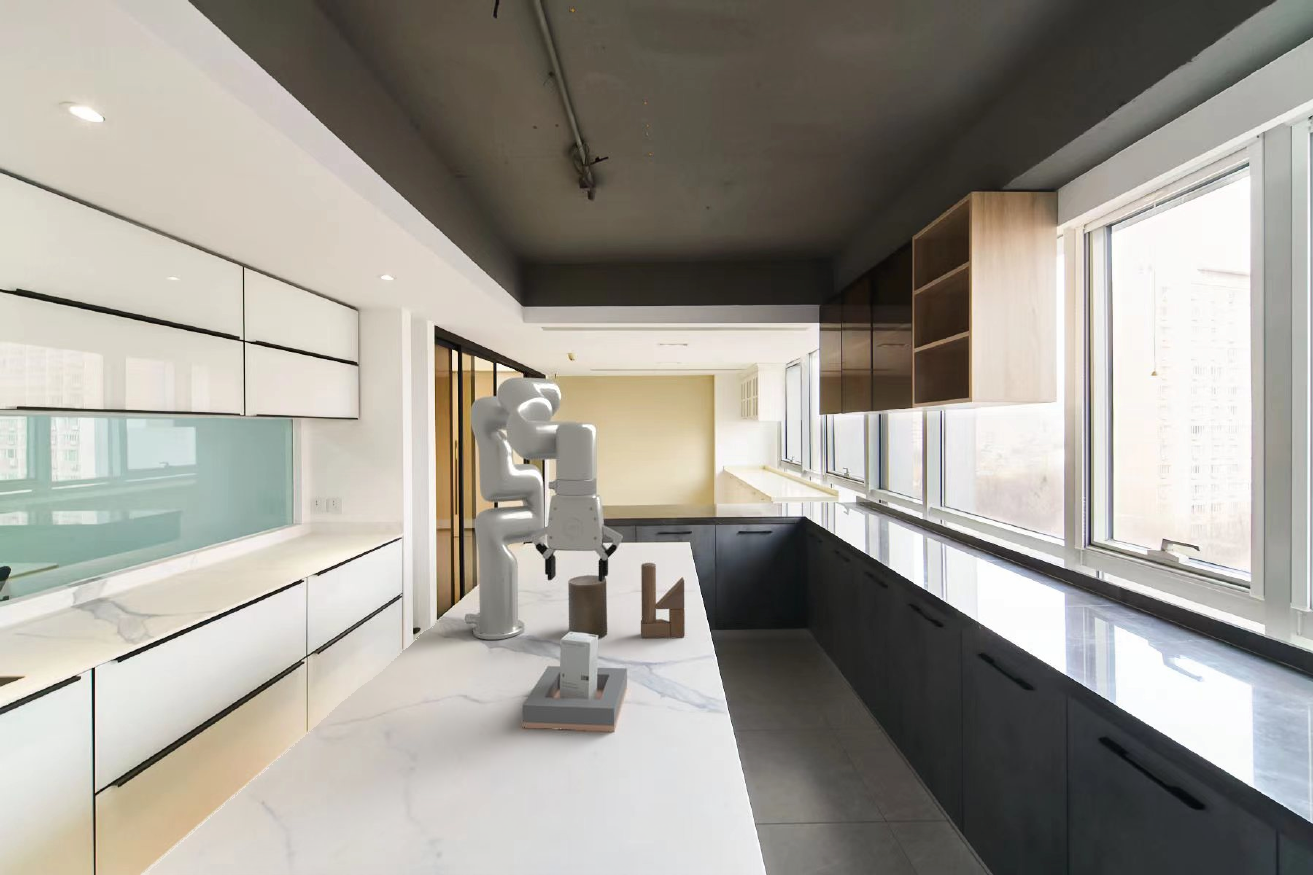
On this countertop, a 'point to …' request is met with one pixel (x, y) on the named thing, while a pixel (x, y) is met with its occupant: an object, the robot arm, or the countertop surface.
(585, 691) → the skincare box
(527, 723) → the gray square frame
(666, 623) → the wooden block
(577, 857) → the countertop surface
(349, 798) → the countertop surface
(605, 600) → the pillar candle
